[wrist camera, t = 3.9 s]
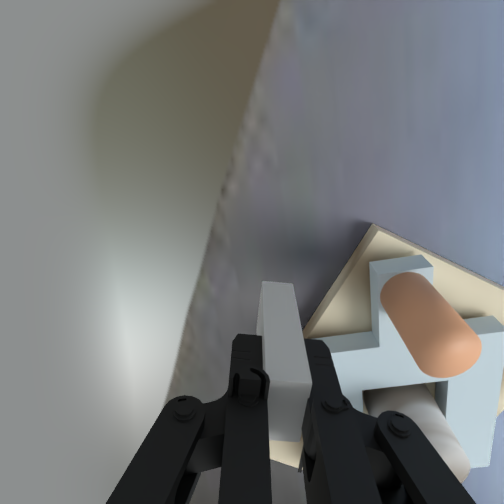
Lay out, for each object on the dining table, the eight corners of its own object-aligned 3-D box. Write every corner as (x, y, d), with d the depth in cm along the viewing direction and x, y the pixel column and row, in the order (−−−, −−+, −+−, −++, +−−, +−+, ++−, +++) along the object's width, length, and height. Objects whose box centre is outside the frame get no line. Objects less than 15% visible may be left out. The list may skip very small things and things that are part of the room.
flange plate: (476, 446, 28) (538, 546, 22) (318, 462, 29) (335, 562, 22) (501, 242, 21) (602, 305, 15) (293, 272, 22) (307, 343, 16)
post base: (372, 223, 22) (420, 278, 16) (572, 319, 25) (682, 400, 18) (235, 433, 29) (230, 529, 23) (400, 489, 32) (436, 589, 26)
